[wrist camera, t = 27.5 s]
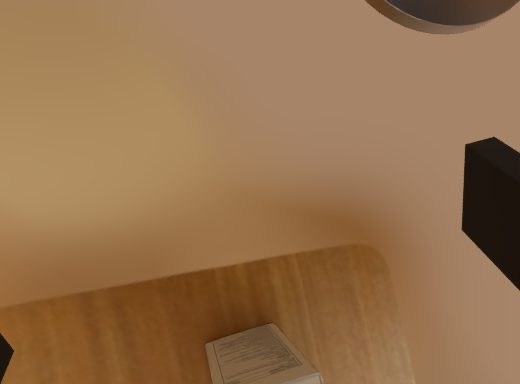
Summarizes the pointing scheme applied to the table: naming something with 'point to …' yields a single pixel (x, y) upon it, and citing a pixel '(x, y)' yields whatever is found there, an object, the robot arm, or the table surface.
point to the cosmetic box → (259, 359)
